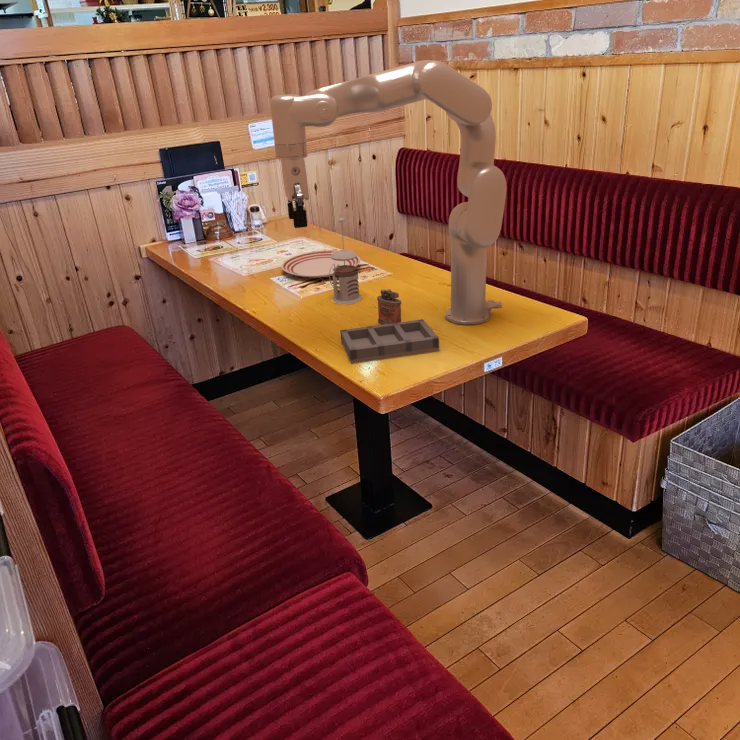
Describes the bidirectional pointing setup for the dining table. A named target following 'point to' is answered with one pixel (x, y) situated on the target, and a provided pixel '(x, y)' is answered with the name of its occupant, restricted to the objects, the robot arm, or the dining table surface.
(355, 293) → the french press
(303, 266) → the dinner plate
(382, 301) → the lighter
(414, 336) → the tray
